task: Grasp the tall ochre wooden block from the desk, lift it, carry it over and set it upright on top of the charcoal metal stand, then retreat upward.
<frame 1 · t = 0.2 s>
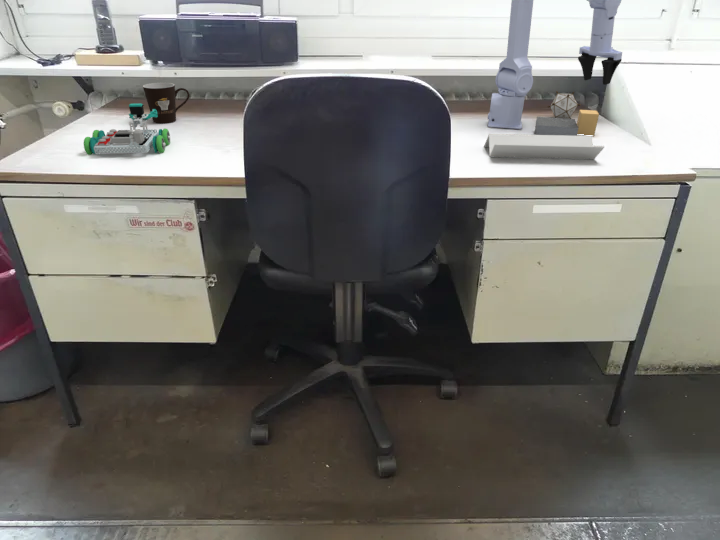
hand: (596, 81, 161), 10 cm above the table, tool pointing down, fingers open, 7 cm apart
game die: (561, 119, 163), on the table
charcoal stand: (554, 136, 145), on the table
coffee mug: (170, 121, 156), on the table
ochre block: (584, 133, 149), on the table
grey v-shaped trough: (539, 157, 131), on the table
robot kit: (135, 145, 136), on the table
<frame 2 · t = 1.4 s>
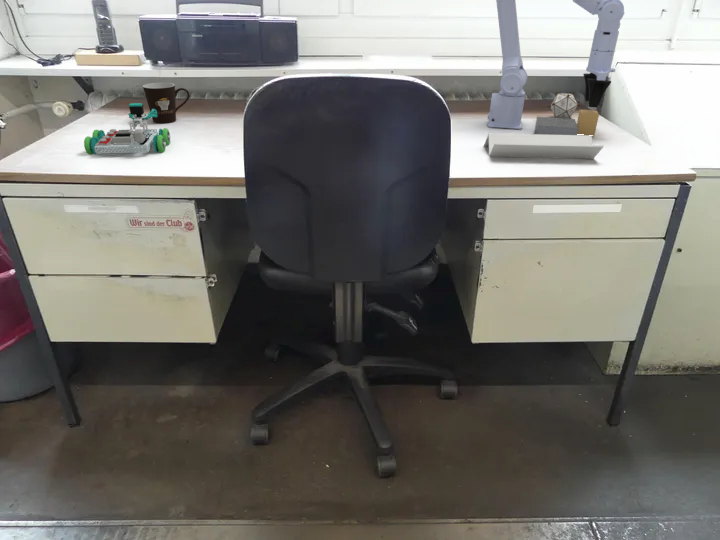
hand: (591, 104, 145), 8 cm above the table, tool pointing down, fingers open, 7 cm apart
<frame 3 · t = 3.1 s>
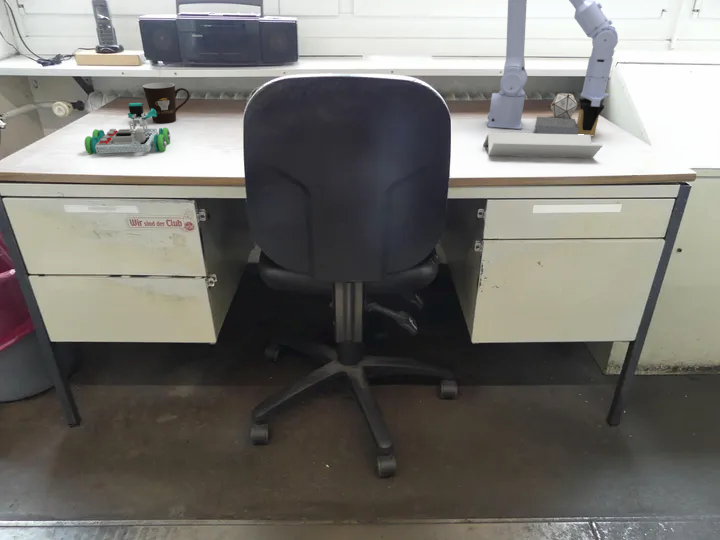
hand: (585, 127, 148), 2 cm above the table, tool pointing down, fingers closed on ochre block, 4 cm apart
ochre block: (584, 133, 149), on the table, touching gripper
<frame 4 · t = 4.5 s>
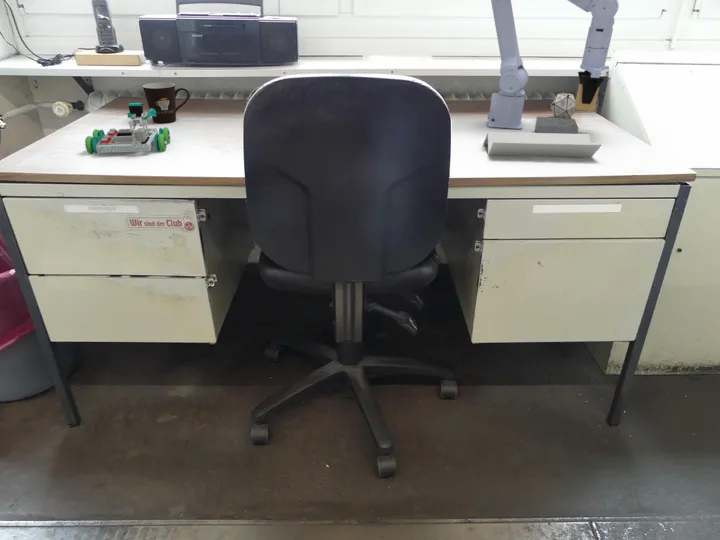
hand: (585, 101, 144), 9 cm above the table, tool pointing down, fingers closed on ochre block, 4 cm apart
ochre block: (584, 108, 144), point 7 cm above the table, touching gripper
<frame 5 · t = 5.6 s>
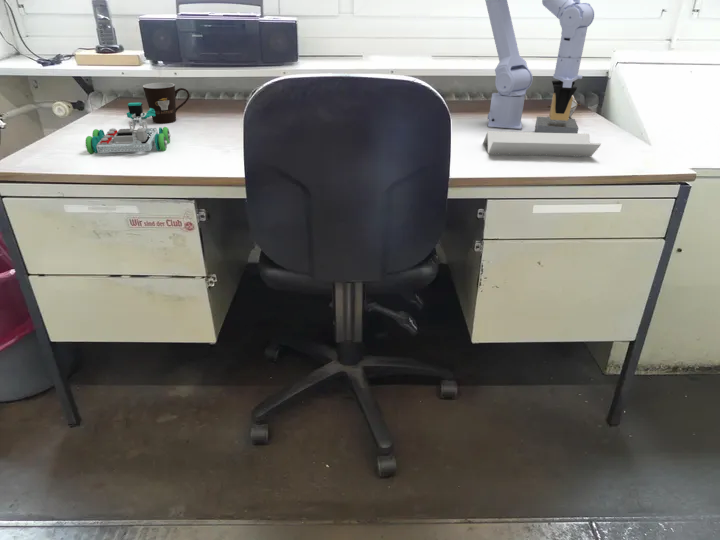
hand: (559, 111, 142), 7 cm above the table, tool pointing down, fingers closed on ochre block, 4 cm apart
ochre block: (558, 118, 143), point 5 cm above the table, touching gripper
when the fingers open (7 cm above the table, at t = 6.2 s): ochre block drops 1 cm, resting on charcoal stand.
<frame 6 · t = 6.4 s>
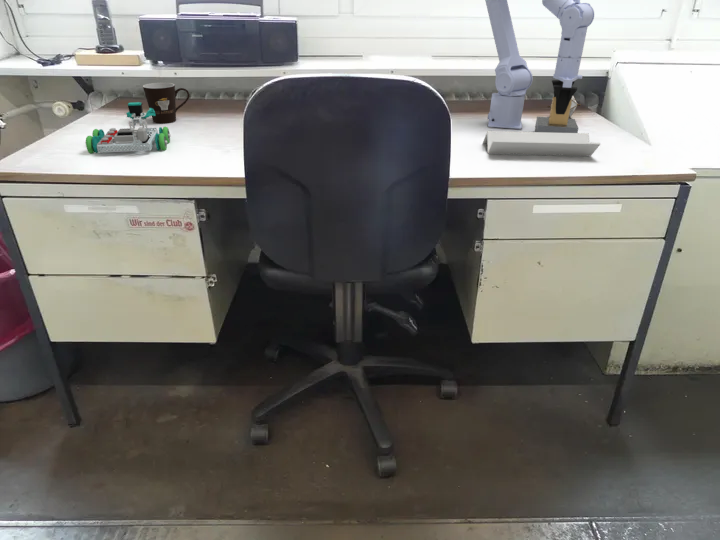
hand: (559, 111, 142), 7 cm above the table, tool pointing down, fingers open, 6 cm apart
ochre block: (557, 122, 143), point 4 cm above the table, touching charcoal stand
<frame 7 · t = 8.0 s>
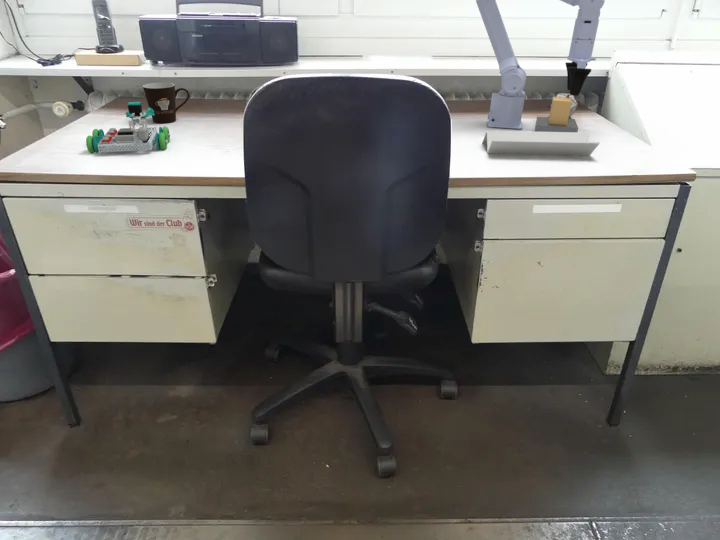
hand: (572, 92, 146), 10 cm above the table, tool pointing down, fingers open, 7 cm apart
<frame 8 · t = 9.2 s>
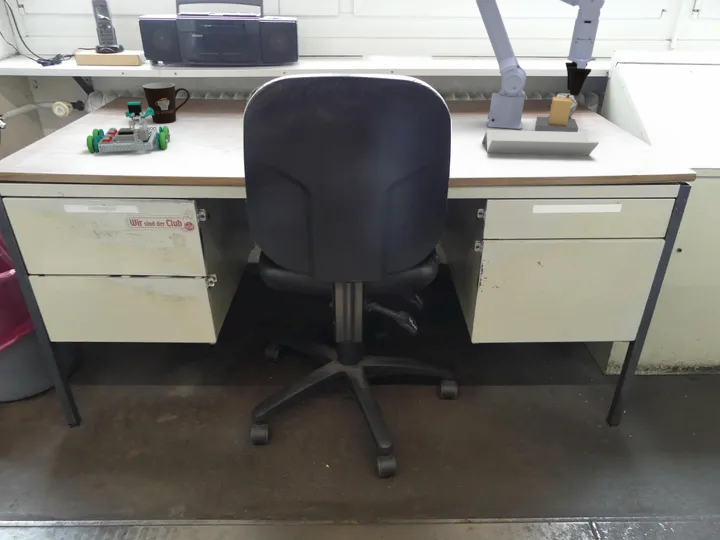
hand: (572, 92, 146), 10 cm above the table, tool pointing down, fingers open, 7 cm apart
at the end: ochre block inside the target area on the charcoal stand (0.2 cm from its centre), point 4.0 cm above the charcoal stand's base; ochre block tilted 0°; the gripper is holding nothing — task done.
